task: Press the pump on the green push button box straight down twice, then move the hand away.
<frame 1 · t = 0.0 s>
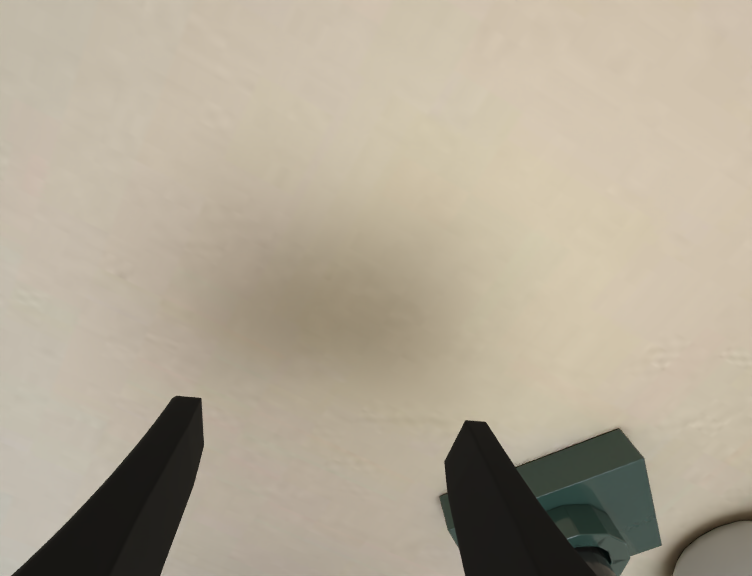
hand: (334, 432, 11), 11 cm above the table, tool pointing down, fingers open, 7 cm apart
green push button box: (544, 505, 30), on the table
soap bottle: (723, 550, 36), on the table
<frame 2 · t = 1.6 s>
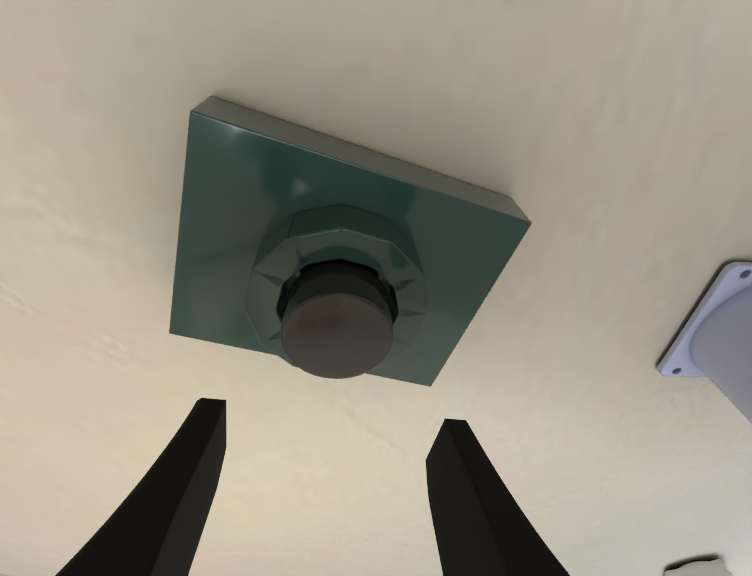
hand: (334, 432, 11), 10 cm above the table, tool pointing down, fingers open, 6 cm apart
green push button box: (340, 252, 20), on the table
pump: (338, 321, 15), point 5 cm above the table, slide at 0.1 cm
chubby white toad: (690, 568, 45), on the table
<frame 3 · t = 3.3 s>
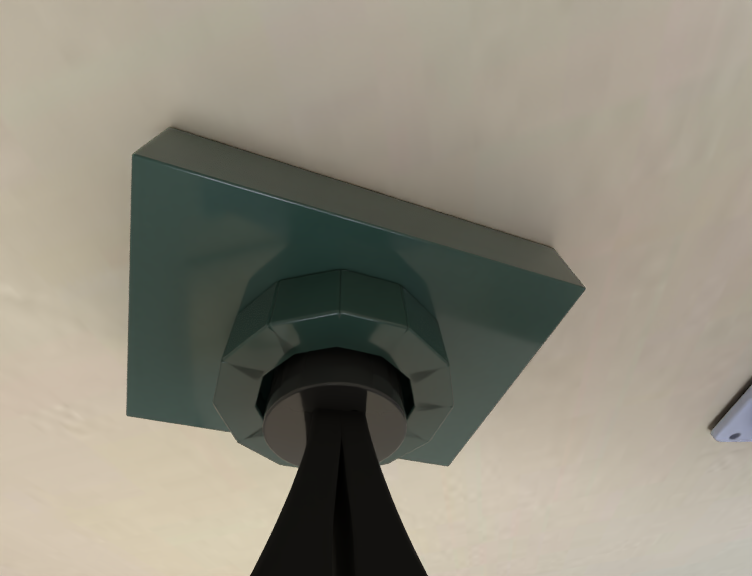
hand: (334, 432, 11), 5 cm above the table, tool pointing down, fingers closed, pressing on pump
green push button box: (339, 311, 16), on the table
pump: (336, 403, 12), point 4 cm above the table, slide at -0.6 cm, touching gripper
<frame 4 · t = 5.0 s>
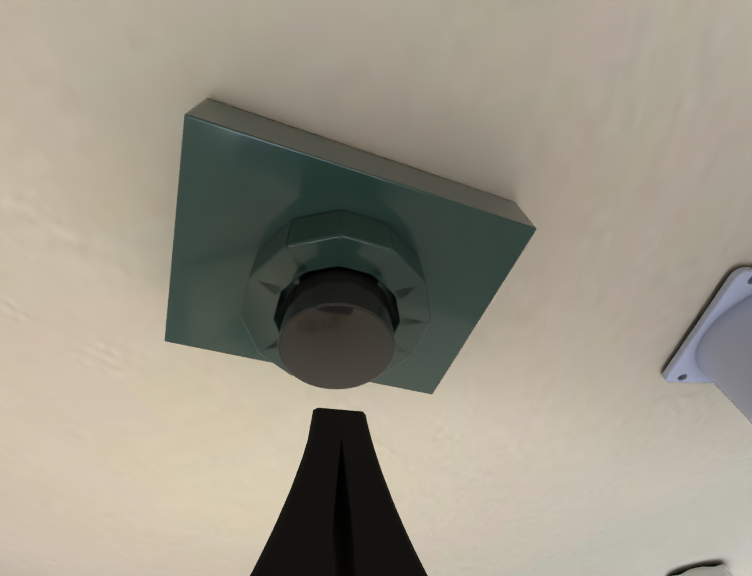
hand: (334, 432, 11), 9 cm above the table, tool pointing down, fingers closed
green push button box: (339, 257, 19), on the table
pump: (337, 330, 15), point 5 cm above the table, slide at 0.1 cm
chubby white toad: (693, 574, 45), on the table
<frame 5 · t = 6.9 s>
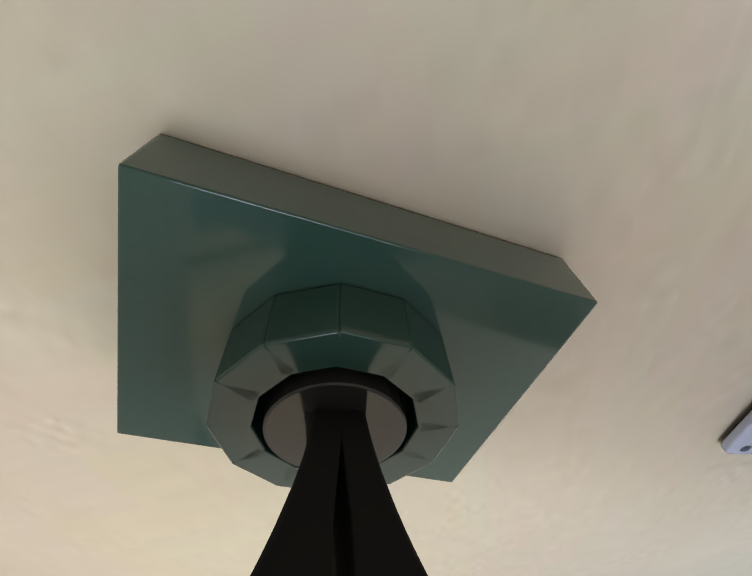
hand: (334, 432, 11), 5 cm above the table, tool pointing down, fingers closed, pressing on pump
green push button box: (338, 323, 15), on the table
pump: (336, 403, 12), point 4 cm above the table, slide at -1.3 cm, touching gripper
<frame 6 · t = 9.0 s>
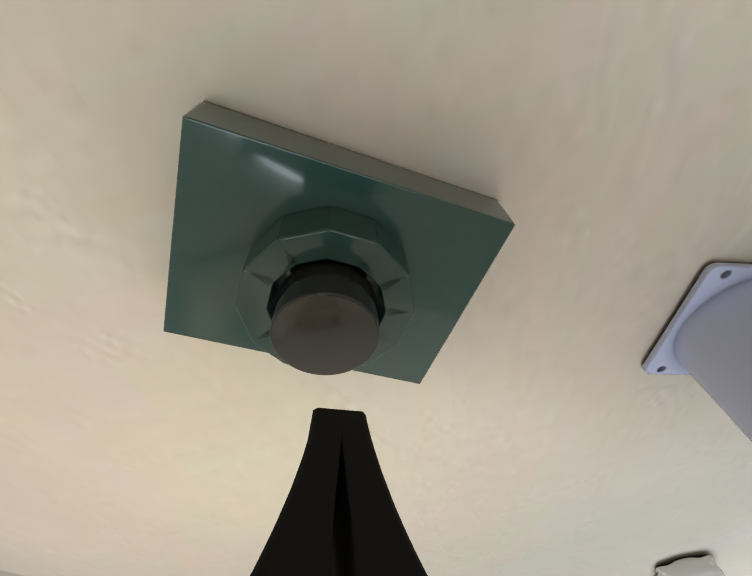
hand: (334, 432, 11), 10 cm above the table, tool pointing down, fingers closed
green push button box: (330, 252, 20), on the table
pump: (326, 319, 16), point 5 cm above the table, slide at 0.1 cm
chubby white toad: (681, 565, 46), on the table
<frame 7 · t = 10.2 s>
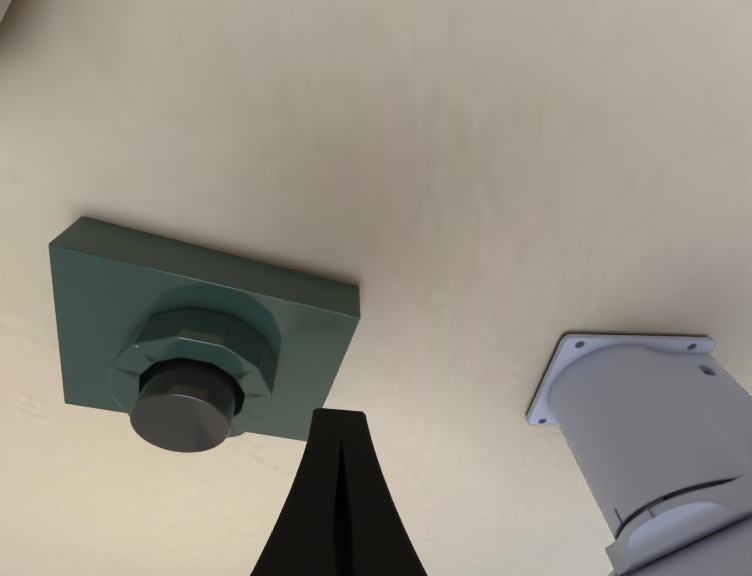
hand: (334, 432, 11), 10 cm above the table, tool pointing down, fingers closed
green push button box: (217, 329, 22), on the table
pump: (187, 406, 18), point 5 cm above the table, slide at 0.1 cm
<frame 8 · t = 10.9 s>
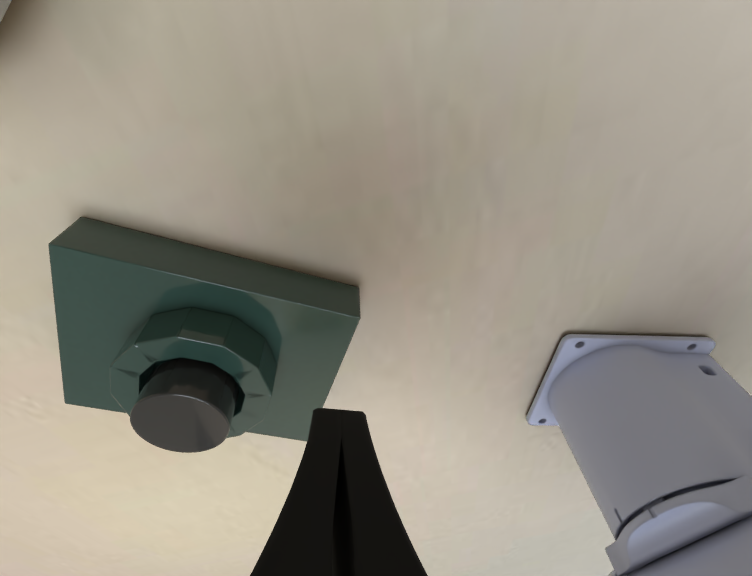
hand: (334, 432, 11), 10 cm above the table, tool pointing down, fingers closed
green push button box: (217, 329, 22), on the table
pump: (187, 406, 18), point 5 cm above the table, slide at 0.1 cm
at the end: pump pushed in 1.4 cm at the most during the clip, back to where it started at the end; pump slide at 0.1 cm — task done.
